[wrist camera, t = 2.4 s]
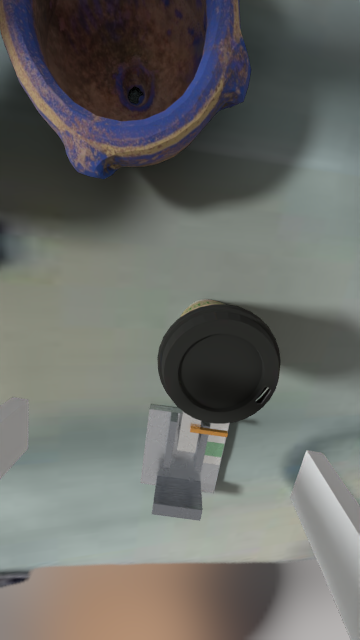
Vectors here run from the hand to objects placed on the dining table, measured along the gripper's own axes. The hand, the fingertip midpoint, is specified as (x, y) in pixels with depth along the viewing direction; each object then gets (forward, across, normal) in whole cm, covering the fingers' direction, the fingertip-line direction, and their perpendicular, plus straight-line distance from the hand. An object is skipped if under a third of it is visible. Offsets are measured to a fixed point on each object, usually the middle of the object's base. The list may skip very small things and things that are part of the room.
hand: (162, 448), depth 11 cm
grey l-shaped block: (+22, +3, -19) cm, 30 cm away
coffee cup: (+22, +3, +2) cm, 22 cm away
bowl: (+21, -9, +25) cm, 34 cm away
